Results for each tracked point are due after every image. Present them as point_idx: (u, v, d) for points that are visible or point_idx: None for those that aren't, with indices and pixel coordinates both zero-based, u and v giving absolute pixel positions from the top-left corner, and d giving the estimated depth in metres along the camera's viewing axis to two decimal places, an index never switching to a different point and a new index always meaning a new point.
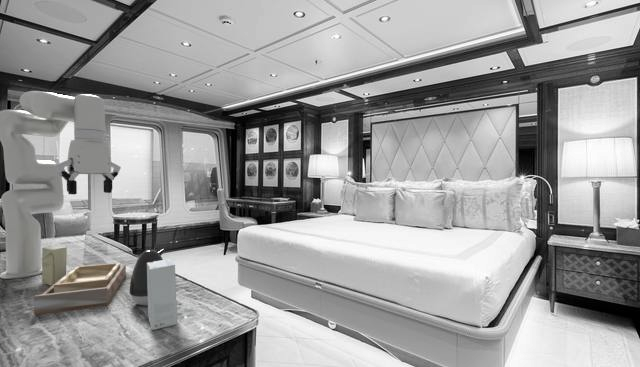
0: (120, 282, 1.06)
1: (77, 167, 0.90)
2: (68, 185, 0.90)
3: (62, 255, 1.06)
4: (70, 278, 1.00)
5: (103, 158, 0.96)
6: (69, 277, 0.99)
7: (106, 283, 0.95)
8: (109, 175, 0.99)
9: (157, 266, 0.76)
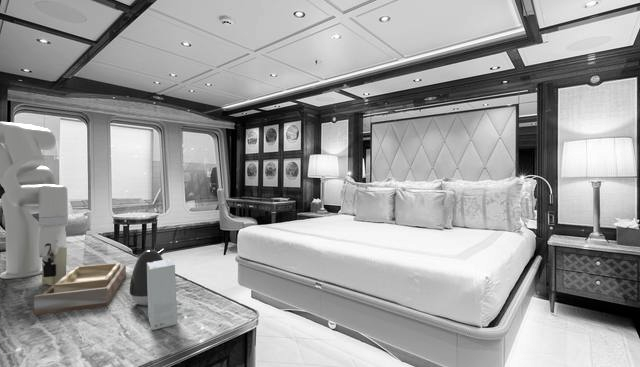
0: (120, 282, 1.06)
1: (56, 251, 1.03)
2: (48, 269, 1.02)
3: (62, 254, 1.06)
4: (70, 278, 1.00)
5: (65, 238, 1.10)
6: (69, 277, 0.99)
7: (106, 283, 0.95)
8: None
9: (157, 266, 0.76)
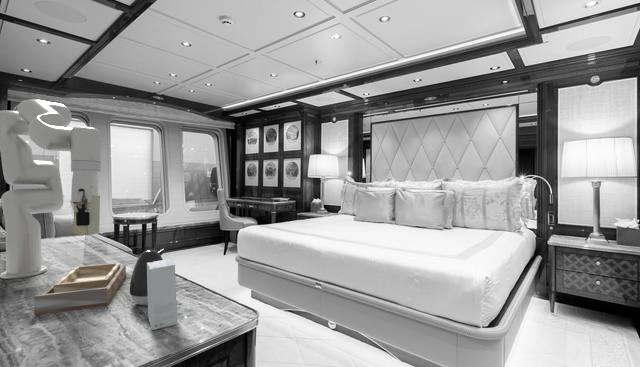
0: (120, 282, 1.06)
1: (90, 197, 0.95)
2: (82, 217, 0.94)
3: (95, 203, 0.98)
4: (70, 278, 1.00)
5: (97, 187, 1.01)
6: (69, 277, 0.99)
7: (106, 283, 0.95)
8: None
9: (157, 266, 0.76)
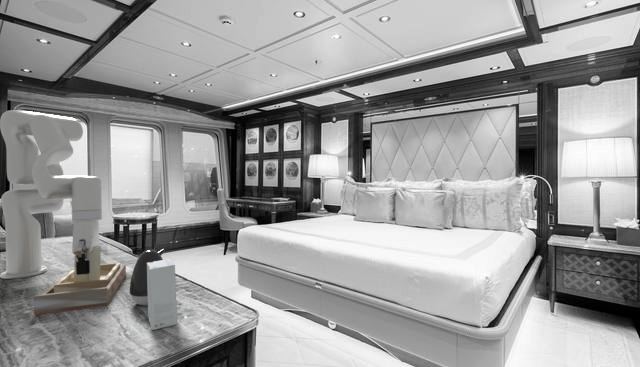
0: (120, 282, 1.06)
1: (91, 247, 0.95)
2: (82, 266, 0.93)
3: (96, 255, 0.98)
4: (70, 278, 1.00)
5: (98, 233, 1.01)
6: (69, 277, 0.99)
7: (106, 283, 0.95)
8: None
9: (157, 266, 0.76)
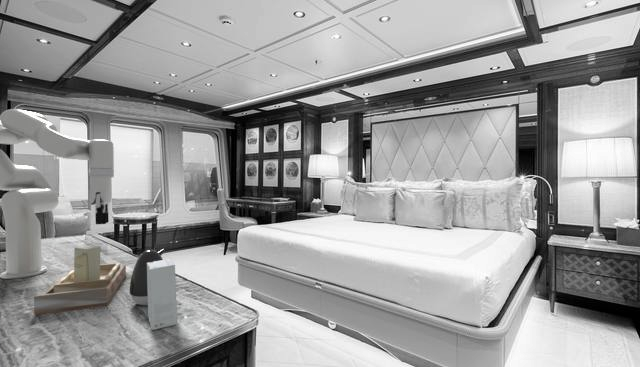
0: (120, 282, 1.06)
1: (105, 199, 1.12)
2: (100, 217, 1.13)
3: (96, 255, 0.98)
4: (70, 278, 1.00)
5: (110, 190, 1.18)
6: (69, 277, 0.99)
7: (106, 283, 0.95)
8: (107, 207, 1.18)
9: (157, 266, 0.76)
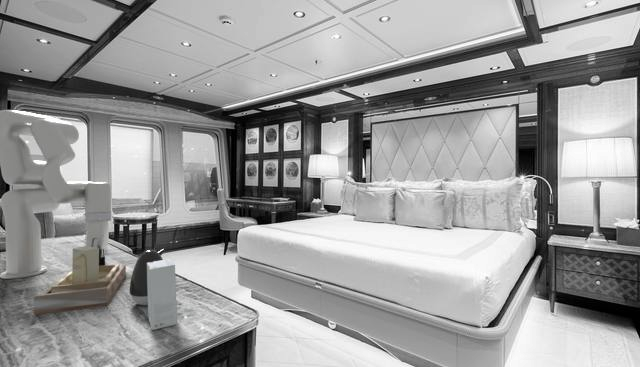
0: (120, 282, 1.06)
1: (102, 245, 1.07)
2: None
3: (94, 256, 0.97)
4: (68, 279, 0.98)
5: (108, 233, 1.14)
6: (67, 279, 0.97)
7: (105, 285, 0.93)
8: (104, 251, 1.12)
9: (157, 266, 0.76)
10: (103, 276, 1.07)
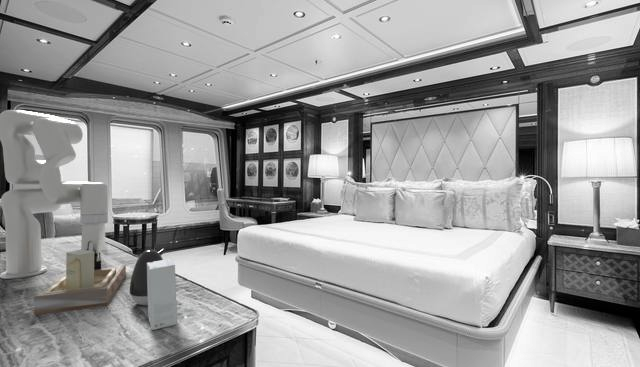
0: (120, 282, 1.06)
1: (98, 248, 1.02)
2: (94, 266, 1.05)
3: (89, 260, 0.92)
4: (62, 285, 0.93)
5: (104, 236, 1.09)
6: (61, 284, 0.92)
7: None
8: (100, 254, 1.07)
9: (157, 266, 0.76)
10: (99, 281, 1.02)
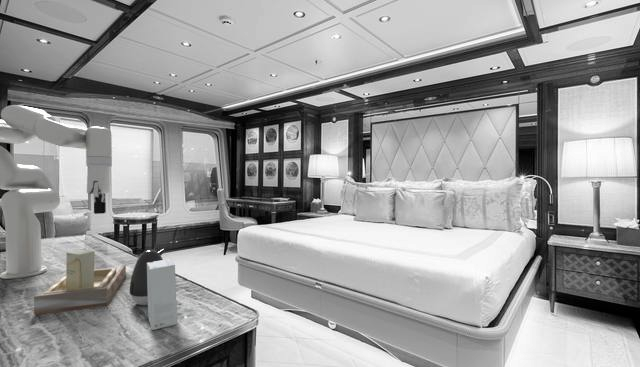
0: (120, 282, 1.06)
1: (103, 188, 1.09)
2: (99, 206, 1.11)
3: (90, 260, 0.92)
4: (62, 285, 0.93)
5: (108, 180, 1.15)
6: (61, 284, 0.93)
7: None
8: (105, 196, 1.14)
9: (157, 266, 0.76)
10: (99, 281, 1.02)
